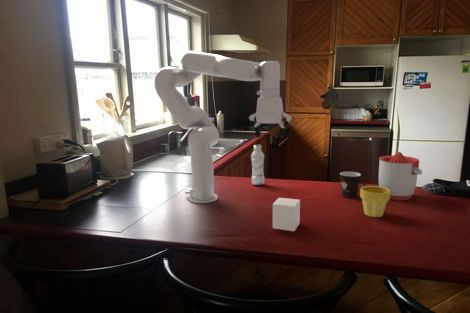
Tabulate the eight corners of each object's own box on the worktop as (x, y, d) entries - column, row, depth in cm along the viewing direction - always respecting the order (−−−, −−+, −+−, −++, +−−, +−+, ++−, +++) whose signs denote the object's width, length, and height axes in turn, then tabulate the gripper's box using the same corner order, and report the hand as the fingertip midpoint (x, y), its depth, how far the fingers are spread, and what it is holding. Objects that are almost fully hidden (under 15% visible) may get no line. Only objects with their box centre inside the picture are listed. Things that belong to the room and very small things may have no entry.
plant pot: (387, 210, 139) (389, 186, 137) (389, 220, 129) (391, 194, 127) (359, 208, 142) (360, 184, 140) (359, 217, 133) (360, 192, 131)
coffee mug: (336, 193, 162) (337, 172, 160) (354, 192, 163) (355, 171, 161) (346, 201, 151) (347, 178, 149) (366, 200, 151) (367, 177, 149)
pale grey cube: (272, 228, 124) (272, 204, 122) (278, 220, 131) (278, 197, 129) (294, 231, 121) (294, 206, 119) (299, 223, 128) (299, 199, 126)
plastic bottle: (263, 186, 175) (263, 146, 172) (250, 186, 177) (249, 146, 173) (265, 183, 182) (265, 144, 178) (252, 182, 183) (251, 144, 179)
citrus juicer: (410, 206, 143) (414, 157, 140) (370, 197, 156) (372, 151, 152) (426, 197, 153) (430, 152, 150) (387, 189, 166) (389, 147, 162)
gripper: (245, 94, 139) (246, 138, 143) (289, 93, 133) (288, 139, 136) (252, 93, 146) (252, 135, 149) (294, 93, 140) (293, 136, 143)
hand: (270, 137), depth 143 cm, fingers open, 9 cm apart
